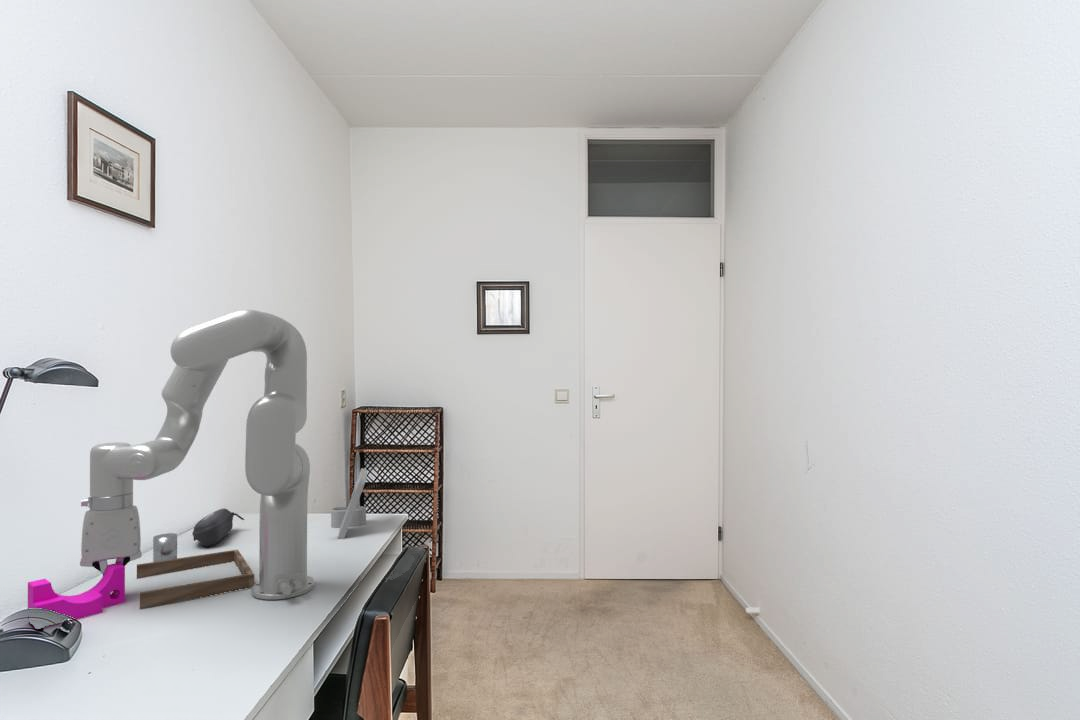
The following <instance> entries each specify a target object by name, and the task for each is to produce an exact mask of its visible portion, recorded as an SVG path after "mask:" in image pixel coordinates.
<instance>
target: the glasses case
mask: <svg viewBox="0 0 1080 720" xmlns="http://www.w3.org/2000/svg"><path fill="white" fill-rule="evenodd" d="M234 516H236V517H238V519H240V520H242V521H244V520H245V517H244V518H243V517H242V516H241V515H239V514H238V513H236V512H232V511H230V510H229V509H227V508H220V509H217V510H216V511H213V512H211V513H209V514H207V515H206V516H204V517H203V518H201V519H200V520H199V521H198V522H197V523H196V524H194V527H193V531H192V533H191V535H192V537H193V541H194V542H195V541H198V542H199V544H200V545H201V546H202V547H204V546H205V548H206V547H210V546H213V545H215V544H217V543H218V542H220V541H221V540H222V539H223V538H224V537H226V535H227V534H228V533H229V532H230V531H232V529H233V521H234Z"/></svg>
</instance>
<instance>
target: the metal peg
mask: <svg viewBox="0 0 1080 720" xmlns="http://www.w3.org/2000/svg"><path fill="white" fill-rule="evenodd" d="M152 539H153V540H152V547H153V548H152V562H157V561H164V560H171V559H177V558H178V534H177V533H172V532H169V533H162V534H161V533H160V534H157V535H154V536H153V538H152Z"/></svg>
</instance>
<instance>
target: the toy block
mask: <svg viewBox="0 0 1080 720" xmlns="http://www.w3.org/2000/svg"><path fill="white" fill-rule="evenodd" d="M125 580H126V565H125V566H123V565H121V564H120V563H111V564H108V565H107V568H106V571H105V574H104V576H103V575H102V577H101V578H100V580H99V581H98V583H96V584H95V585H94V586H93V587H91V588H89V590H87V591H84V592H82V593H80V594H79V593H78V594H75V595H73V594H72V595H63V594H59V593H57V592H55V591H54V589H53V587H52V583H51V582H50V581H49V580H48V579H46V578H41V579H36V580H33V581H28V582H27V610H28V609H29V608H42V609H47V610H52V611H55V612H57V613H60V614H65V615H68V616H71V617H73V618H75V620H79V619H82V618H86V617H90V616H94V615H96V614H97V615H98V614H101V613H103V609H104V608H109V607H112V606H116V605H119V604H120V605H121V604H123V603H126V596H125V595H126V581H125Z"/></svg>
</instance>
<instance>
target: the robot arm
mask: <svg viewBox="0 0 1080 720" xmlns="http://www.w3.org/2000/svg"><path fill="white" fill-rule="evenodd" d="M169 351H170V356H171V359H172V361H173V362H174V363H175V366H174V368H173V370H172V372H171V374H170V376H169V378H168V379H167V381H166V383H165V384H164V387H163V388H162V390H161V397H162V399H163V401H164V403H165V405H166V417H165V419H164V422H163V423H162V427H161V428H160V430H159V432H158V433H157V435H156V437H155V439H154V440H151V441H146V442H143V443H139V444H132V445H131V444H130V443H127V442H105V443H99V444H95V445H94V446H92V448H90V452H89V453H90V454H89V497H87V498H85V499H81V500H80V503H81V504H80V506H81V507H85V508H89V509H88V510H86V511H85V513H84V518H83V522H82V523H83V524H82V529H81V544H80V545H81V546H80V549H81V550H80V551H81V558H80V562H79V566H80V567H84V568H85V567H86V568H94V569H96V570H97V571H98V572H100V573H101V574H102V577H103V576H104V574H105V571H106V568H107V565H109V564H108V560H115V563H120V564H121V565H123V566H125V567H126V565H128V563H130V562H132V561H135V560H138V559H140V558H142V556H143V554H142V550H141V545H142V544H141V543H142V542H141V538H142V537H141V536H142V535H141V523H140V522H141V520H140V514H139V510H138V507H137V505H134V480H136V481H146V480H151V479H153V478H156V477H159V476H162V475H165V474H167V473H170V472H172V471H174V470H175V469H177V468H178V467H179V465H181V464H182V463H183V461H184V459H186V456H187V454H188V453H189V451H190V449H191V447H192V445H193V444H194V442H195V439H196V437H197V435H198V434H199V433H198V432H199V430H200V427H201V421H202V417H203V411H204V407H205V405H206V403H207V401H208V399H209V398H210V397H211V396H210V395H211V394H212V391H213V389H214V387H215V386H216V384H217V382H218V381H219V379H220V376H221V375H222V373H223V371H224V369H225V367H226V366H227V363H228V362H229V360H230V359H232V358H235V357H238V356H242V355H244V354H248V353H251V352H255V353H256V352H257V353H259V352H262V353H264V354H265V356H266V364H265V369H264V390H263V396H262V397H260V398H258V399H257V400H256V401H255V402H254V403H253V405H252V406H251V407H250V409H249V411H248V414H247V418H246V425H245V426H246V427H245V428H246V429H245V456H244V457H245V459H244V461H245V462H244V466H245V467H244V468H245V470H244V471H245V478H246V481H247V483H248V485H249V486H250V488H251V489H252V490H253V491H254V492H255V493H257V494H259V495H260V499H259V501H260V502H259V553H258V554H259V559H258V561H259V562H258V563H259V573H258V574H259V579H258V580H259V581H257V582H256V583H254V585H253V586H252V588H250V590H251V595H252V597H254V598H257V599H260V600H268V601H269V600H270V601H271V600H275V601H276V600H285V599H290V598H291V599H292V598H295V597H299V596H302V595H304V594H307V593H309V592H310V591H312V590H313V589H314V587H315V579H314V578H313V577H312V576H308V500H309V499H308V497H309V495H308V494H309V484H310V483H309V482H310V473H311V471H310V469H311V465H310V464H311V463H310V458H309V455H308V454H307V451H306V450H305V449H304V448H303V447H302V446H301V445H299V444H298V443H296V439H297V438H296V436H297V433H300V432H301V430H302V429H303V428H304V427H305V424H306V422H307V416H308V408H307V406H308V403H307V402H308V401H307V400H308V397H307V396H308V395H307V394H308V389H307V388H308V374H307V373H308V370H307V369H308V356H307V355H308V354H307V347H306V343H305V340H304V337H303V336H302V334H301V333H300V331H299V330H298V329H297V328H296V327H295V326H294V325H293V324H291V323H290V322H288V321H287V320H285V319H283V318H282V317H279V316H278V315H275V314H272V313H269V312H265V311H259V310H255V309H243V310H239V311H234V312H232V313H228V314H226V315H224V316H220V317H218V318H216V319H212V320H210V321H206V322H204V323H201V324H198V325H195V326H192V327H189V328H186V329H185V330H183V331H181V332H180V333H179V334H177V335H176V336H175V338H174V339H173V341H172V343H171V346H170V350H169ZM115 563H114V564H115Z"/></svg>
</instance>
